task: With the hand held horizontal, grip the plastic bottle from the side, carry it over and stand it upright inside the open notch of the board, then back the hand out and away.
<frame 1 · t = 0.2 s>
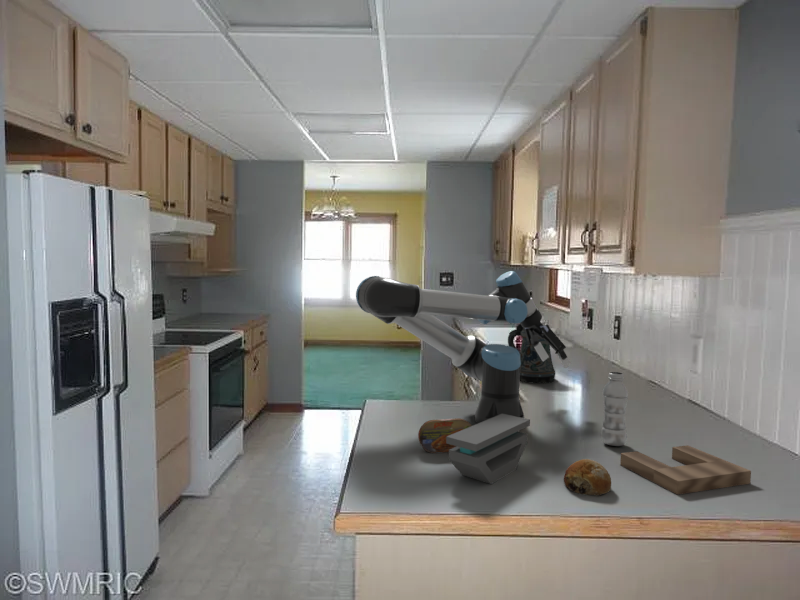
hand: (556, 362, 192), 15 cm above the countertop, tool tilted 35°, fingers open, 13 cm apart
tin: (445, 451, 146), on the countertop
beer stein: (531, 379, 235), on the countertop
plastic bottle: (613, 445, 152), on the countertop
bread roll: (586, 488, 124), on the countertop
notched board: (682, 473, 132), on the countertop
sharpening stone: (489, 473, 132), on the countertop
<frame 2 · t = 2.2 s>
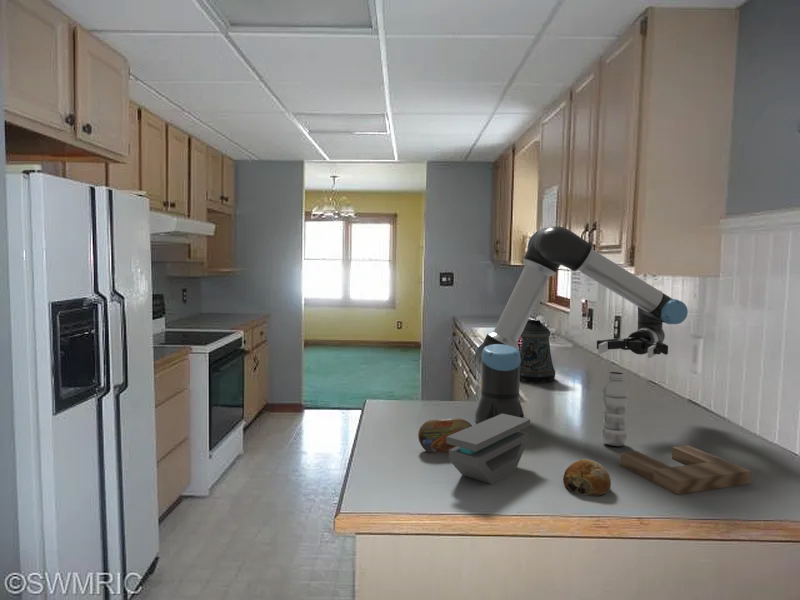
hand: (623, 351, 159), 25 cm above the countertop, tool horizontal, fingers open, 13 cm apart
nothing on the countertop moved.
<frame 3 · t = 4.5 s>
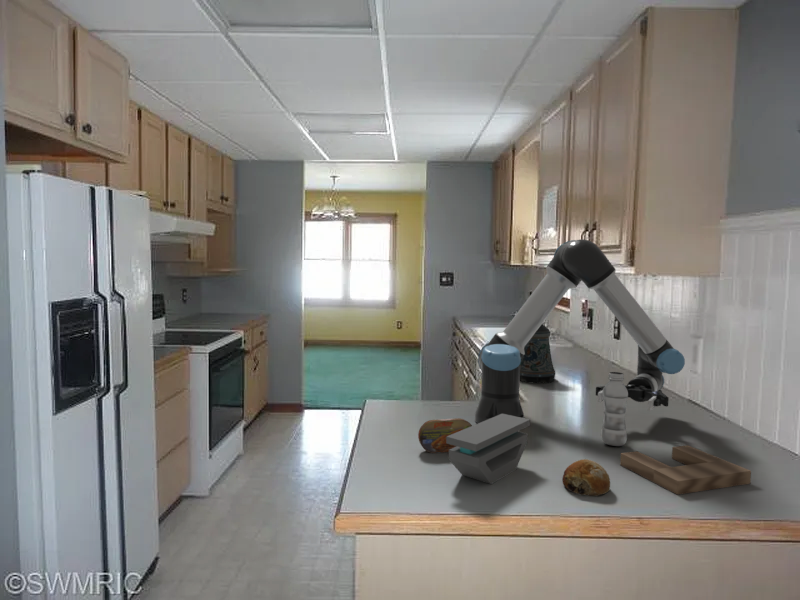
hand: (623, 401, 156), 11 cm above the countertop, tool horizontal, fingers open, 13 cm apart
nothing on the countertop moved.
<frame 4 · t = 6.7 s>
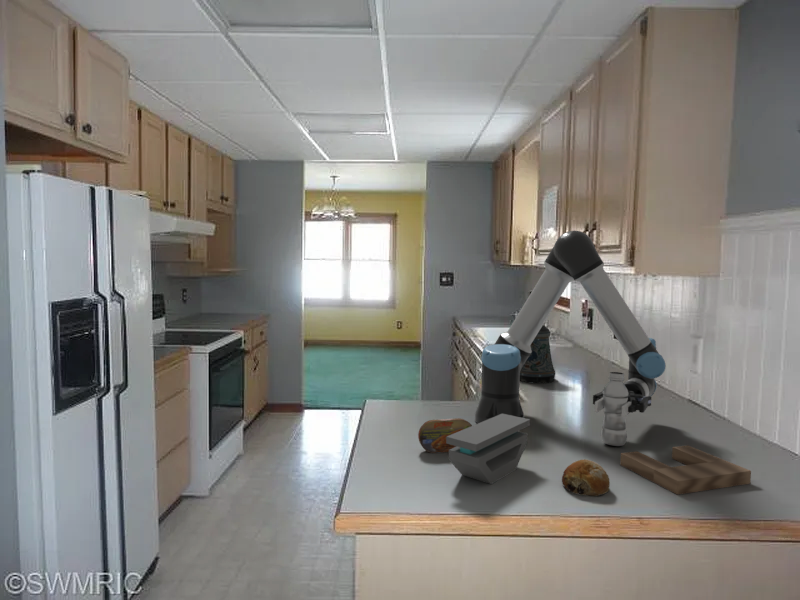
hand: (609, 409, 147), 11 cm above the countertop, tool horizontal, fingers closed on plastic bottle, 6 cm apart
plastic bottle: (613, 445, 152), on the countertop, touching gripper
everything else where it was.
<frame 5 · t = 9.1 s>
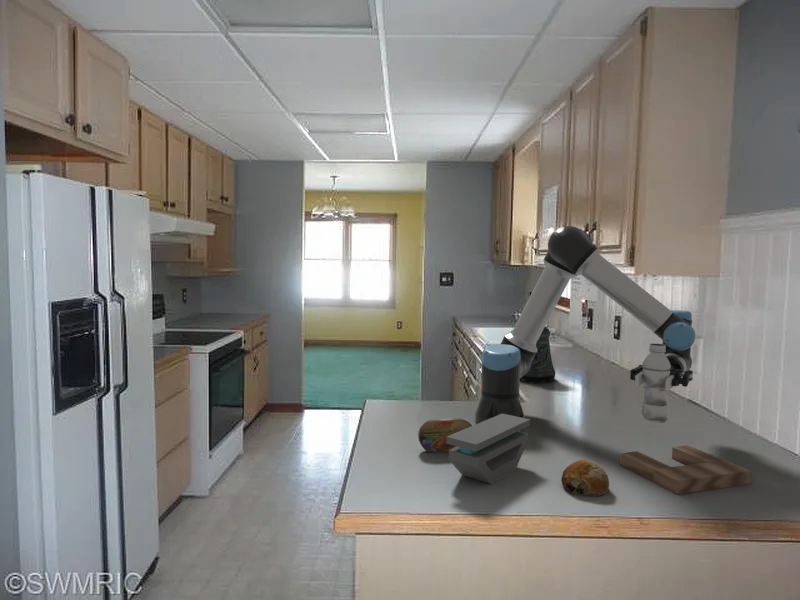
hand: (651, 383, 137), 20 cm above the countertop, tool horizontal, fingers closed on plastic bottle, 6 cm apart
plastic bottle: (654, 422, 141), point 9 cm above the countertop, touching gripper
everything else where it was.
when the fingers open (12 cm above the countertop, at t = 11.3 s): plastic bottle drops 1 cm, on the countertop.
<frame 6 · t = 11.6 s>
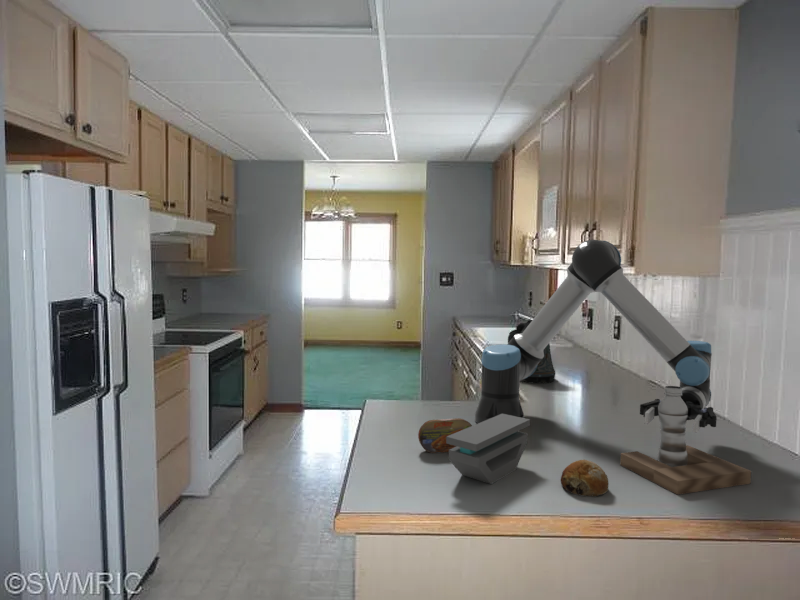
hand: (670, 422, 131), 12 cm above the countertop, tool horizontal, fingers open, 10 cm apart
plastic bottle: (672, 469, 135), on the countertop
everything else where it was.
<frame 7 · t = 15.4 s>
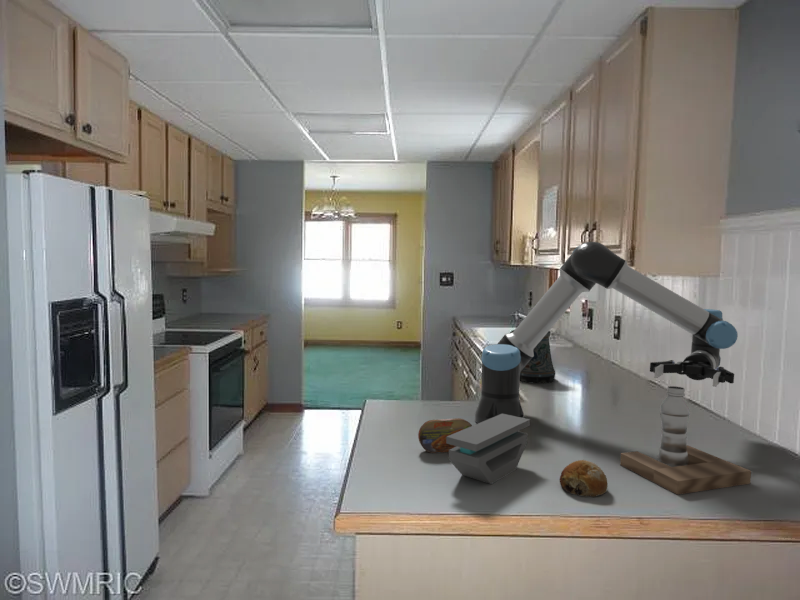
hand: (684, 377, 142), 21 cm above the countertop, tool horizontal, fingers open, 13 cm apart
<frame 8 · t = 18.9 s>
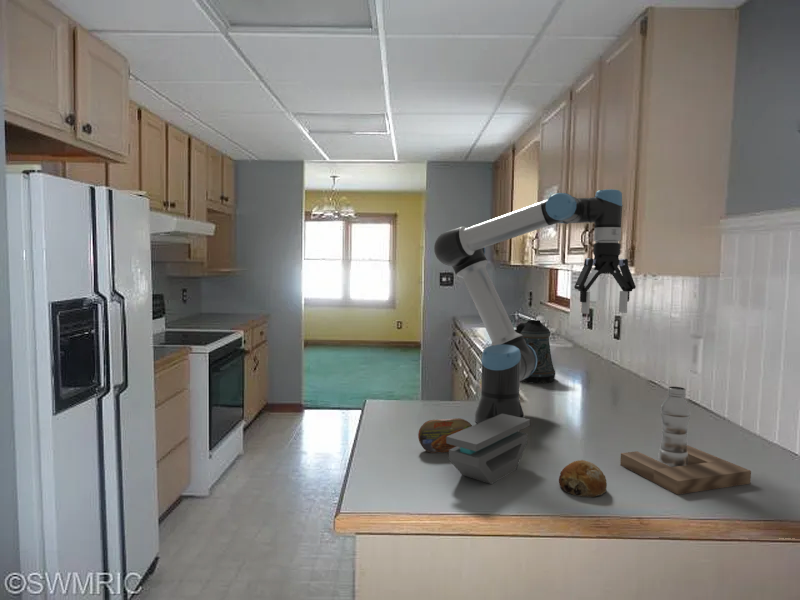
hand: (604, 313, 167), 35 cm above the countertop, tool pointing down, fingers open, 13 cm apart
at the end: plastic bottle inside the target area on the notched board (0.2 cm from its centre), point 0.0 cm above the notched board's base; plastic bottle tilted 0°; the gripper is holding nothing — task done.
